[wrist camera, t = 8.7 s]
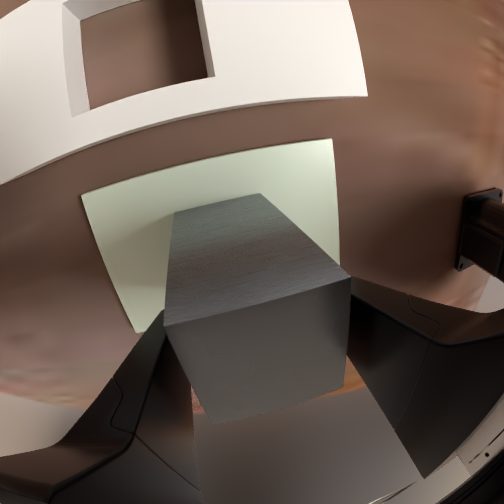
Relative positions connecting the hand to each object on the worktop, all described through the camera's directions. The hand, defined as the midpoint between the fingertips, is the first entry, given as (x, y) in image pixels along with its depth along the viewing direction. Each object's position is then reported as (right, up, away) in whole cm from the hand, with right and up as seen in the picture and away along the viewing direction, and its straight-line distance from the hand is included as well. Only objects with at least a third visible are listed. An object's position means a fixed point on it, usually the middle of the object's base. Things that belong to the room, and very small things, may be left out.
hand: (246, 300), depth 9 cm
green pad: (-1, +2, +5) cm, 6 cm away
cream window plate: (-4, +11, 0) cm, 11 cm away
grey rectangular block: (-1, +2, +4) cm, 5 cm away
